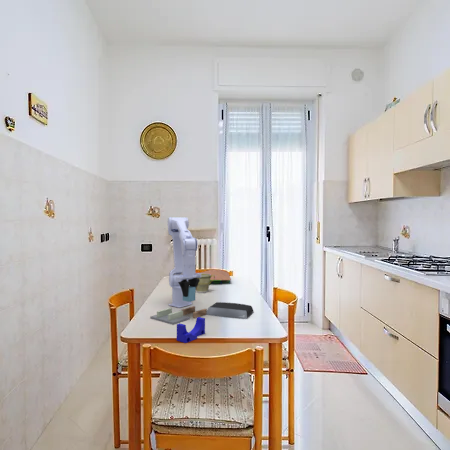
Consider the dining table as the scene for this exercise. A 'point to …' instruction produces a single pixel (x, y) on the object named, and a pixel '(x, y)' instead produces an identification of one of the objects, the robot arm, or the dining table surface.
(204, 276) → the ceramic cup
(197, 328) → the blue cradle holder
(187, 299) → the blue rectangular block
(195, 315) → the cradle
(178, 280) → the robot arm
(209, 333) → the dining table surface
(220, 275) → the sandwich
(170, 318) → the dock
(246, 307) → the external hard drive
